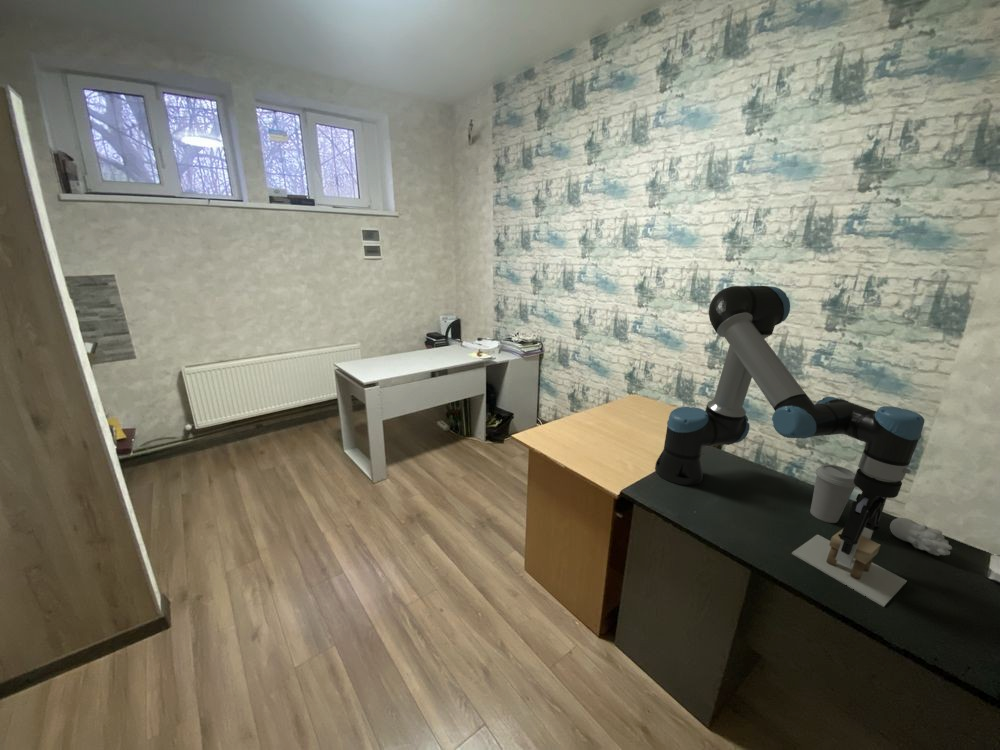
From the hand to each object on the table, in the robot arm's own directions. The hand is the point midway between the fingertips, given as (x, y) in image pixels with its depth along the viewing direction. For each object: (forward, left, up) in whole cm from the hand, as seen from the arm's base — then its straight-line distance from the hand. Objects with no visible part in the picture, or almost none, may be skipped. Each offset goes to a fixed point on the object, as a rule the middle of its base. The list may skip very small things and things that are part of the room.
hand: (850, 556), depth 94 cm
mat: (0, 0, -3) cm, 3 cm away
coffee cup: (-12, +19, -4) cm, 23 cm away
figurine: (+6, +26, -4) cm, 27 cm away
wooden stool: (0, 0, -3) cm, 3 cm away
